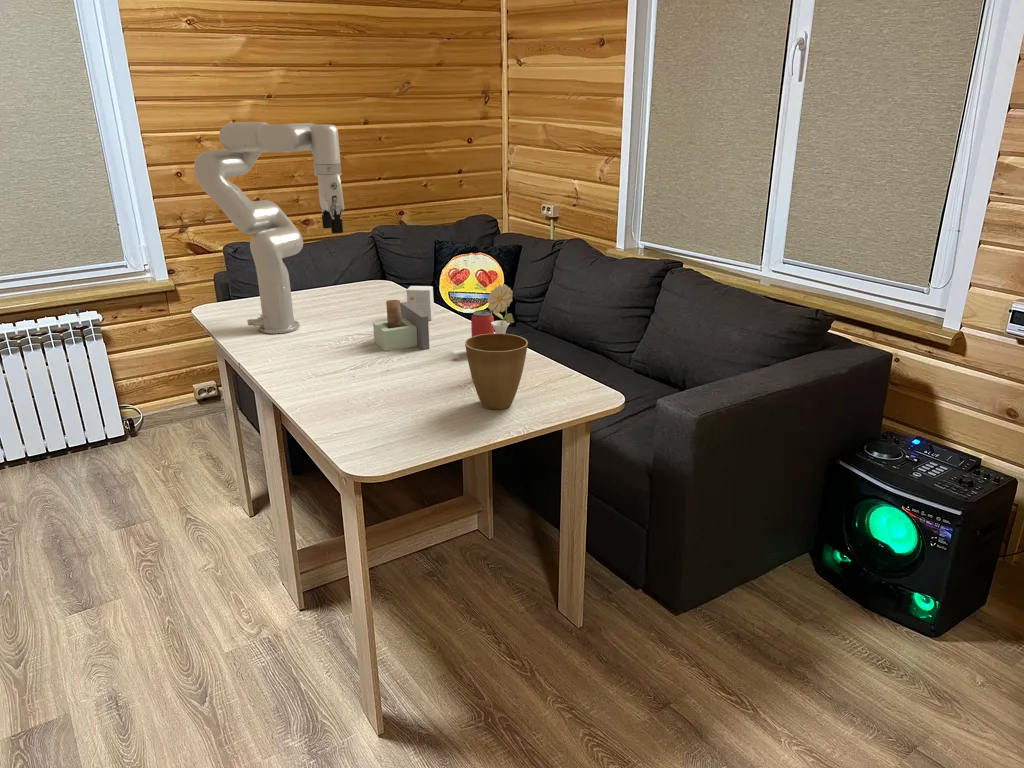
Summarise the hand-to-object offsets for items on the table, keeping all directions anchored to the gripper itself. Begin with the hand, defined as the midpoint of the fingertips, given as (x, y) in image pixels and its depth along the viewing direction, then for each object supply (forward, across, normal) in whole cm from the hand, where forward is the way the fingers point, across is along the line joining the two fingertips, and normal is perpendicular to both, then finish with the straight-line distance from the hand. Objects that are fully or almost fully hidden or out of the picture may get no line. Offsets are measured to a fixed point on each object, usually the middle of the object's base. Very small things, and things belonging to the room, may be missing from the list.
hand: (332, 230), depth 220 cm
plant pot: (+34, -69, -19) cm, 79 cm away
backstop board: (+33, -16, -8) cm, 38 cm away
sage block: (+32, -16, -12) cm, 38 cm away
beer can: (+34, -32, -33) cm, 57 cm away
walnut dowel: (+31, -16, -12) cm, 37 cm away
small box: (+34, +10, -30) cm, 46 cm away
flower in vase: (+34, -50, -30) cm, 67 cm away
